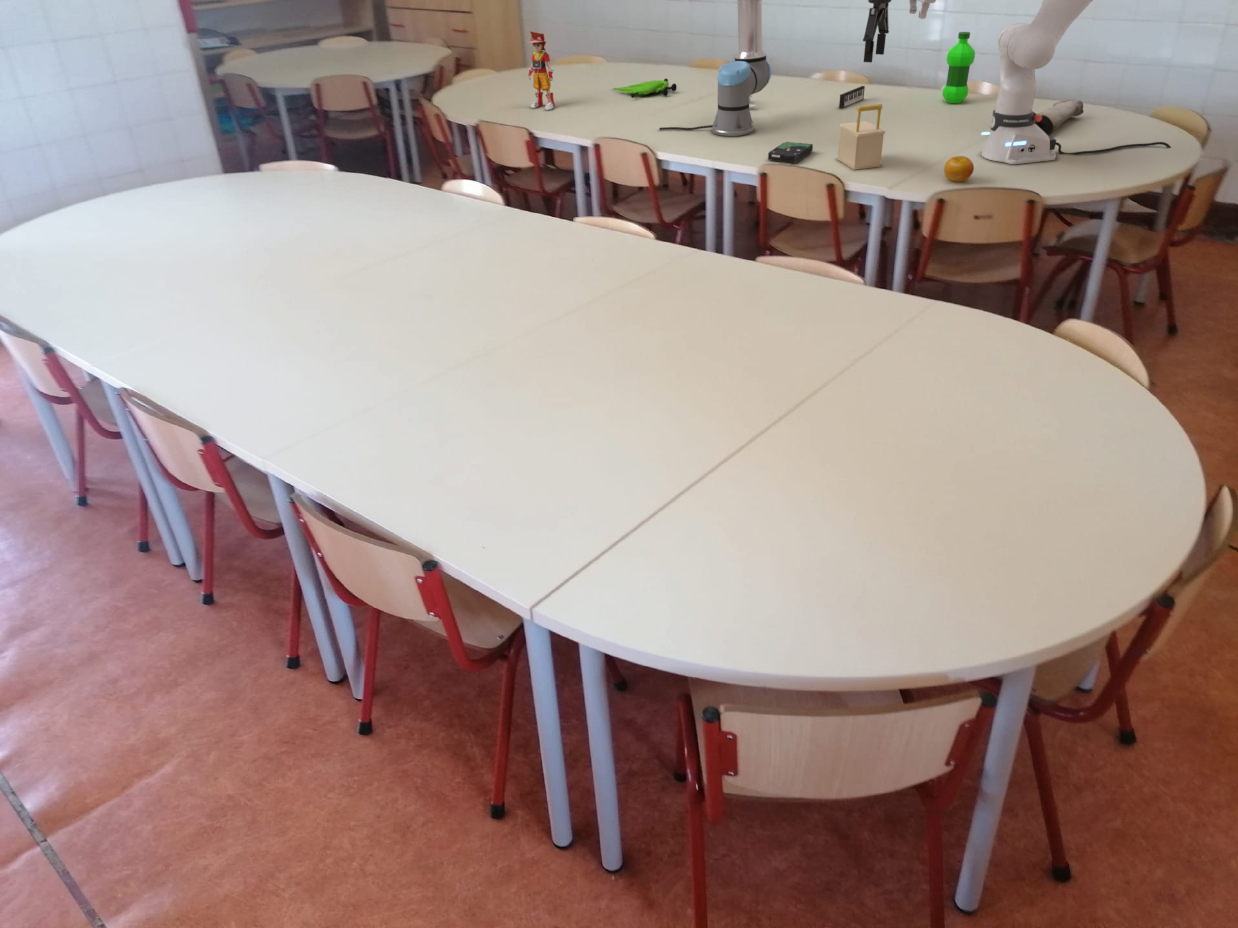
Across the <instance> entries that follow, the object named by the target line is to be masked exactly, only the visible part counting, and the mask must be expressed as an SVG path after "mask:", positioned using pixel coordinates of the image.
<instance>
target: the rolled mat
mask: <svg viewBox="0 0 1238 928" xmlns="http://www.w3.org/2000/svg"><path fill="white" fill-rule="evenodd" d="M1038 114H1040V115H1041V116H1042V117H1041V118H1042V120H1040V121H1039V122H1037V121H1035V124H1036V125H1037V126H1038V127H1040V128H1041V129H1042V130H1043V131H1044V132H1045V133H1046V134H1047V135H1048V136H1051V135H1052V134H1053V133H1054V132H1055V131H1056V130H1057V129H1058V128H1059V127H1060V125H1062V124H1063V123H1064V122H1066V121H1067V120H1068V119H1069V118H1071V117H1080V116H1081V115H1082V114H1084V102H1083V101H1082V100H1080V99H1067V100H1060V101H1057V102H1055V103H1053V105H1052V106H1051V107H1048V108H1046V109H1045V110H1043V111H1041V112H1039V113H1038Z"/></svg>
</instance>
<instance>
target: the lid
mask: <svg viewBox="0 0 1238 928" xmlns="http://www.w3.org/2000/svg"><path fill="white" fill-rule="evenodd" d="M882 110H883V103H875V104H867V105H858V106H857V107H856V111H857V117H856V122H855V121H854V122H847V123H840V127H842V128H843V129H845V130H847V131H849V132H850V133H852V134H854V135H856V136H857V137H861V136H869V135H878V134H884V135H885V134H886V131H885V130H884V129H882V128H880V122H881V112H882ZM870 111H877V114H876V115H877V116H876V123H875V124H876V125H875V124H873V123H871V122H869V121H867V120H863V121H861V113H862V112H870Z"/></svg>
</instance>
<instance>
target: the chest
mask: <svg viewBox="0 0 1238 928" xmlns="http://www.w3.org/2000/svg"><path fill="white" fill-rule="evenodd" d="M884 136H885V134H878V135H869V136H861V137H857V136H856V135H854V134H852V133H850V132H849V131H847V130H845V129H843V128H842V127H840V128H839V139H838V150H837V160H838V161H840V162H841V163H843V164H844V165H845V166H847V167H849V168H850V169H852V170H854V171H856V170H864V169H871V168H878V167H881V163H882V162H881V161H882V154H883V143H884Z"/></svg>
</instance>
